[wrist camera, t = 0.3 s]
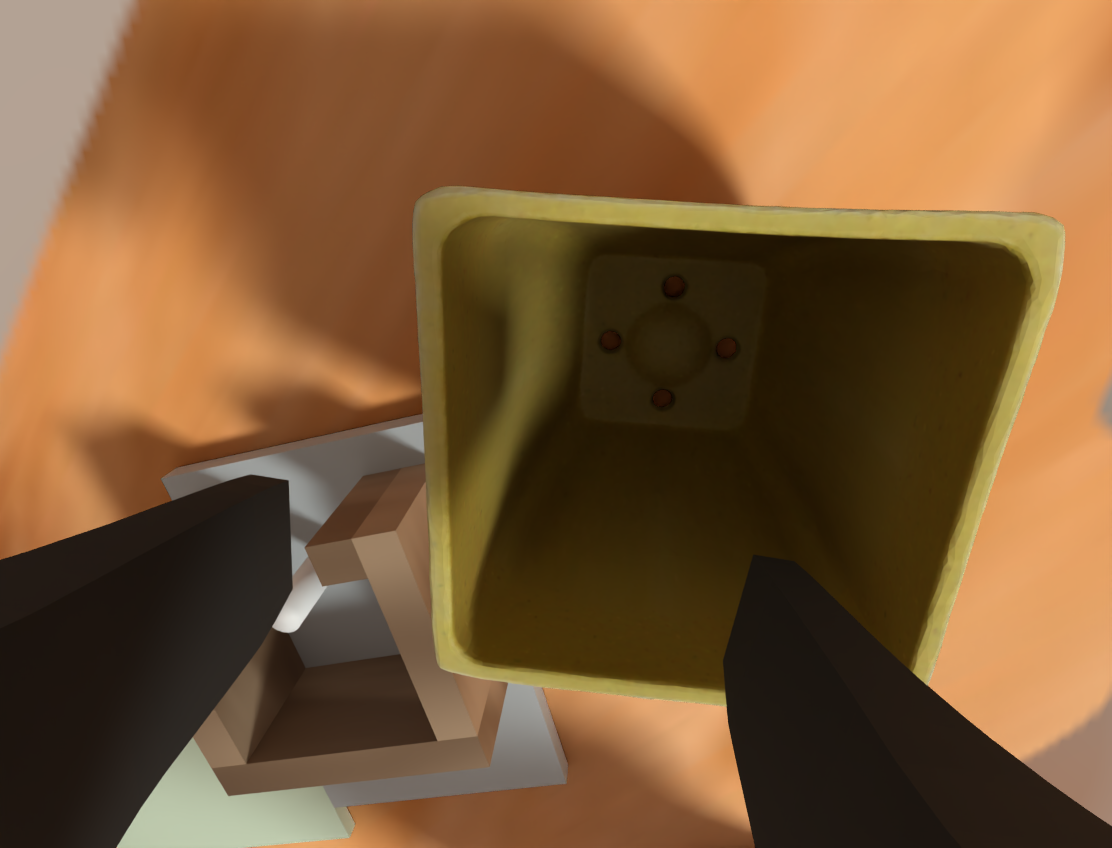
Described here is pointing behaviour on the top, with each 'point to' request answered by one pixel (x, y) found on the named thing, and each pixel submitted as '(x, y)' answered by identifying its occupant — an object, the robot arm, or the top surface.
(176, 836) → the pad
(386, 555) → the c link
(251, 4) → the top surface
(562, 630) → the flower pot
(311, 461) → the stand
